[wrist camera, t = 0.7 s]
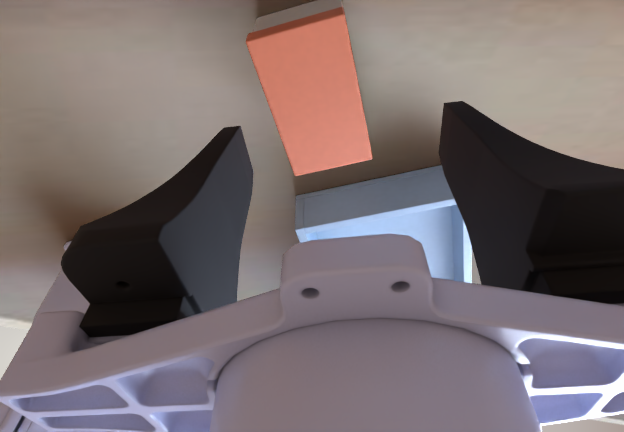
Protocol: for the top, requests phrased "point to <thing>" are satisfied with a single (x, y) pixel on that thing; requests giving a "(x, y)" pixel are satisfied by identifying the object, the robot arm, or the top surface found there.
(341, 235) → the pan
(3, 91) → the top surface
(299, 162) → the sushi
